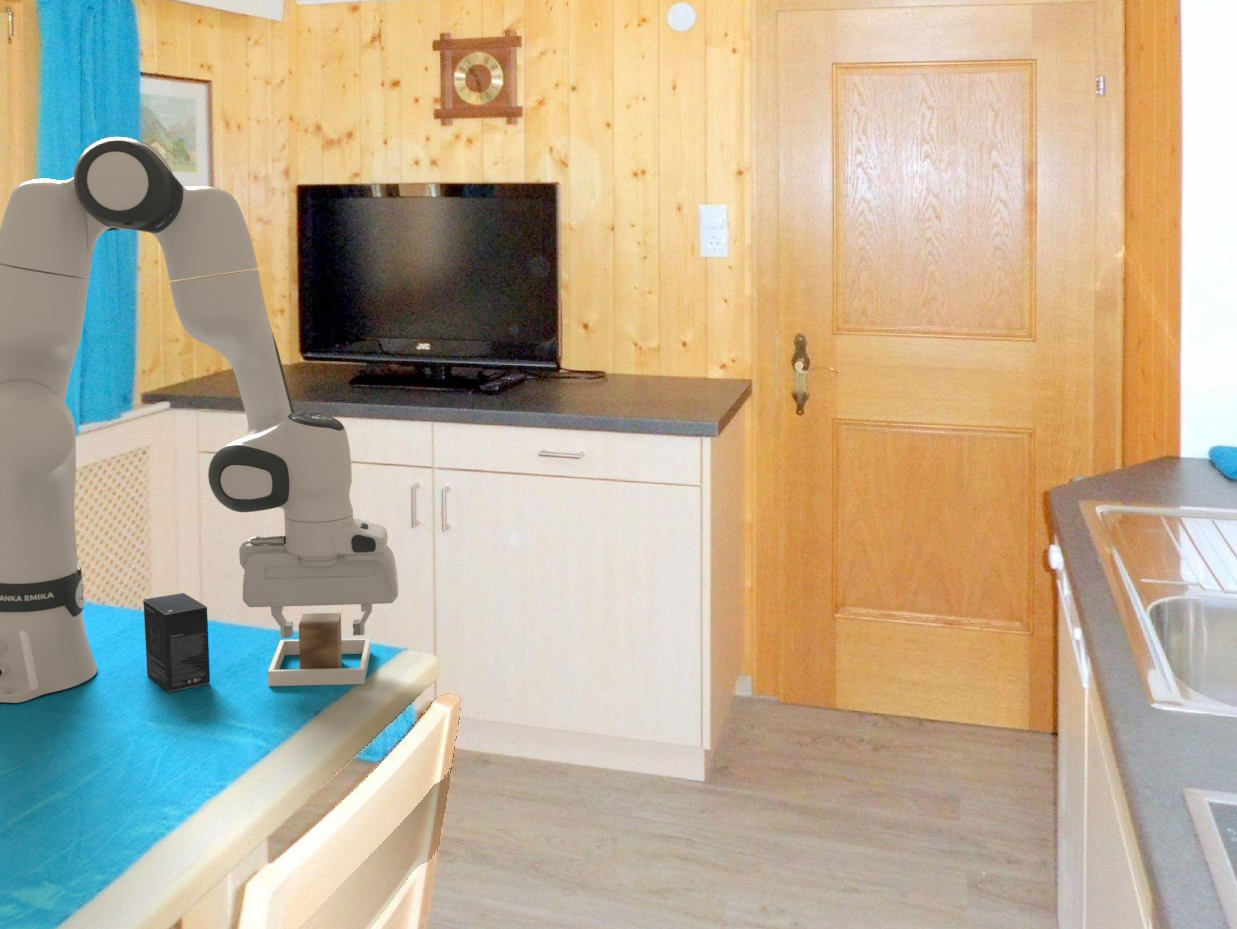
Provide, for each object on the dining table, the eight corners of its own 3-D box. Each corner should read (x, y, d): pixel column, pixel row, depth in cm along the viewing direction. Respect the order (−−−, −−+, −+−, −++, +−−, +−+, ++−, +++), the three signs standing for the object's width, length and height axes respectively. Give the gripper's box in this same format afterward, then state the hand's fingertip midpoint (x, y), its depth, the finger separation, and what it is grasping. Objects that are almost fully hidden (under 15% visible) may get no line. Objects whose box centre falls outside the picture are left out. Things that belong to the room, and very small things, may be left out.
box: (211, 684, 173) (208, 606, 171) (168, 693, 170) (164, 614, 167) (188, 666, 179) (184, 591, 177) (145, 675, 175) (141, 598, 173)
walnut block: (300, 676, 177) (298, 625, 175) (304, 662, 181) (303, 613, 180) (338, 675, 177) (337, 625, 176) (341, 662, 182) (340, 613, 181)
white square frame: (268, 686, 173) (267, 671, 172) (280, 653, 184) (280, 639, 184) (364, 684, 174) (364, 669, 174) (370, 652, 186) (370, 638, 185)
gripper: (234, 543, 172) (240, 645, 174) (396, 540, 174) (398, 640, 177) (242, 531, 178) (246, 629, 181) (397, 527, 180) (400, 625, 183)
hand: (323, 635), depth 179 cm, fingers open, 8 cm apart
